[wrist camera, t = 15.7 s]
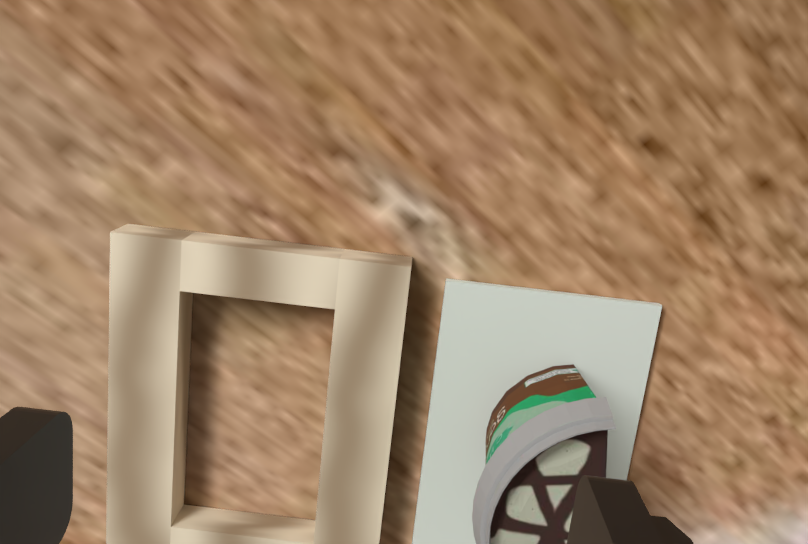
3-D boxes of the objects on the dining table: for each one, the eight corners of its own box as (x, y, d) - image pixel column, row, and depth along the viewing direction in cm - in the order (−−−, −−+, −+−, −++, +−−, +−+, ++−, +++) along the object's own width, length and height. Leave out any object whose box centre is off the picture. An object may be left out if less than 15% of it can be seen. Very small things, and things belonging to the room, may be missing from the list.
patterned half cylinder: (464, 340, 42) (473, 417, 32) (574, 339, 42) (616, 416, 32) (466, 533, 45) (475, 657, 35) (568, 533, 45) (606, 657, 35)
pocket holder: (412, 256, 42) (411, 267, 39) (376, 567, 47) (373, 593, 44) (128, 223, 42) (110, 232, 39) (122, 536, 47) (105, 560, 44)
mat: (659, 303, 42) (662, 305, 41) (602, 580, 46) (604, 586, 46) (446, 278, 42) (446, 280, 41) (409, 557, 46) (409, 562, 46)
